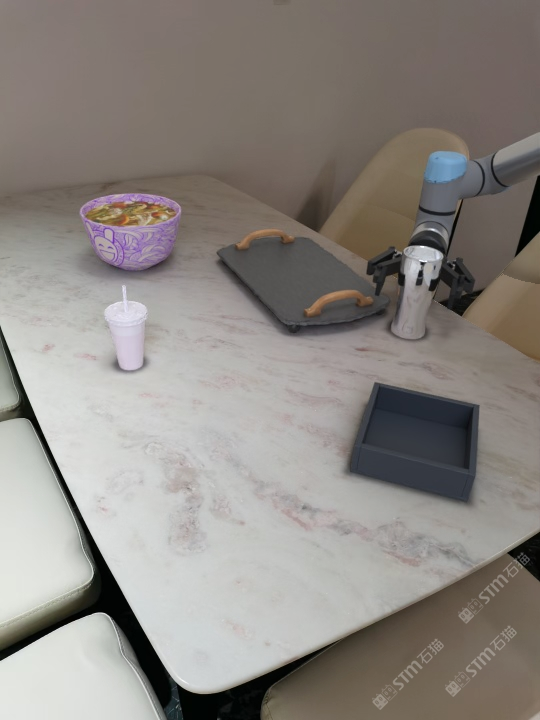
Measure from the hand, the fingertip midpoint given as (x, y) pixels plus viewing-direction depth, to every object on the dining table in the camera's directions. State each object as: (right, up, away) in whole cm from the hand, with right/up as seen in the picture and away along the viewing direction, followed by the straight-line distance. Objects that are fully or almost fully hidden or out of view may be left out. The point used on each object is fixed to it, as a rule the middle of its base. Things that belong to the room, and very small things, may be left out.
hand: (413, 295), depth 99 cm
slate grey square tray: (-4, -23, -19) cm, 30 cm away
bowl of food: (-52, +10, +27) cm, 60 cm away
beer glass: (+1, -6, +8) cm, 10 cm away
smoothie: (-46, -12, -5) cm, 48 cm away
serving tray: (-18, +4, +21) cm, 28 cm away
